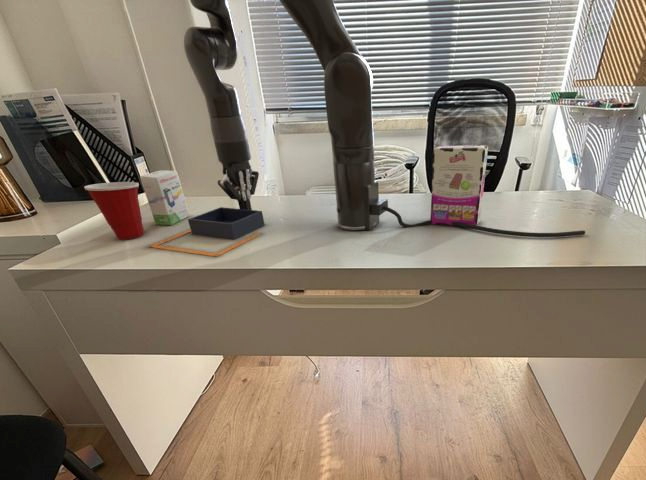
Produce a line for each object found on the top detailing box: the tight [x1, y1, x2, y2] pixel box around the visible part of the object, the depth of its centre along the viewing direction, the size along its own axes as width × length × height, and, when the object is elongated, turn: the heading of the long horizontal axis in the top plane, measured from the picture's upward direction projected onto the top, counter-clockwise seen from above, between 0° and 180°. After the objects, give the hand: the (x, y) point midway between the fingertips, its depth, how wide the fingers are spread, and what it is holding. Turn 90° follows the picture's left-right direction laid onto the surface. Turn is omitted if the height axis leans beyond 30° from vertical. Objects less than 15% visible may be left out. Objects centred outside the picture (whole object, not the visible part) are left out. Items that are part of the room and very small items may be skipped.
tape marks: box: [148, 229, 261, 258], centre depth 88 cm, size 20×15×1 cm
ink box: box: [139, 169, 191, 226], centre depth 100 cm, size 9×5×12 cm, turn 168°
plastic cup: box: [83, 181, 145, 241], centre depth 90 cm, size 11×11×12 cm
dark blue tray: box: [187, 206, 266, 240], centre depth 94 cm, size 13×11×4 cm
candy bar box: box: [429, 145, 489, 227], centre depth 87 cm, size 11×5×16 cm, turn 68°
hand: (247, 214), depth 99 cm, fingers closed
